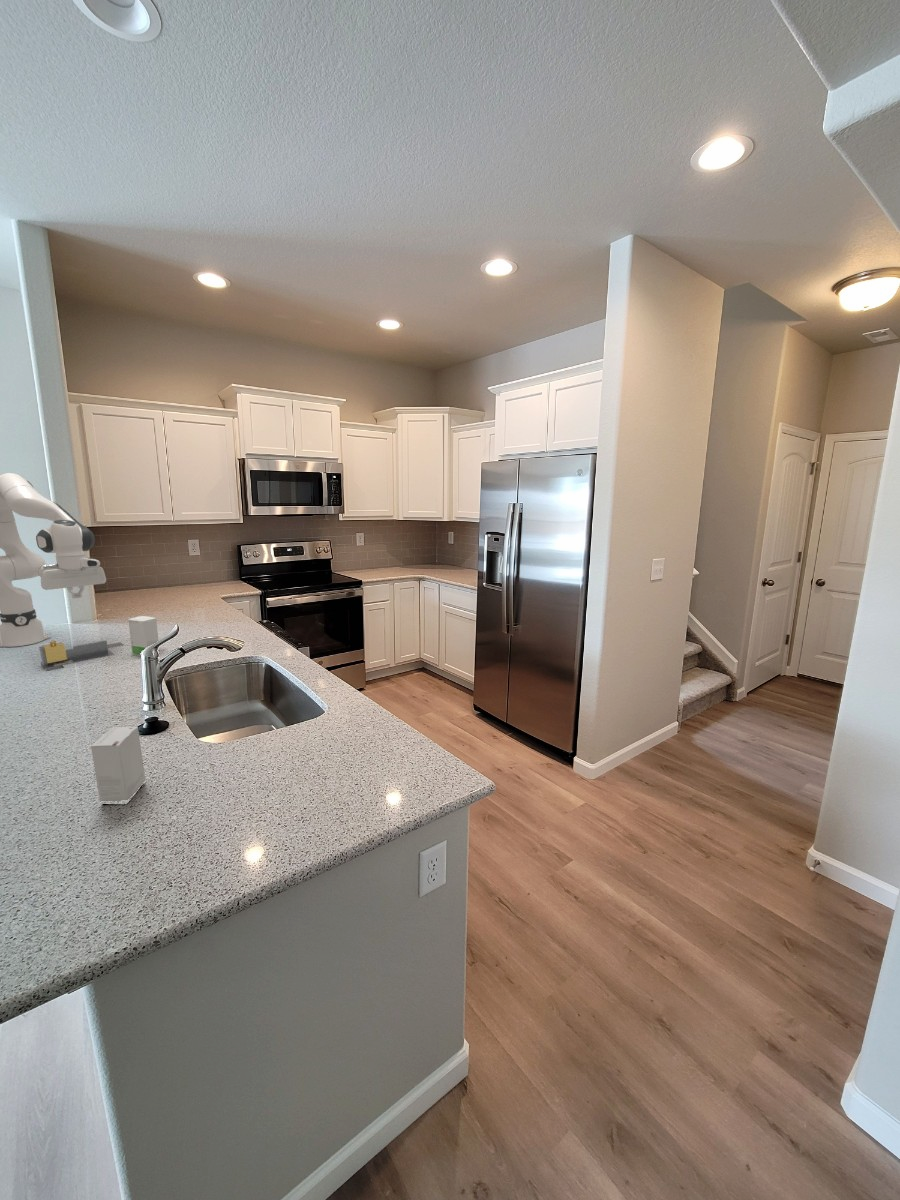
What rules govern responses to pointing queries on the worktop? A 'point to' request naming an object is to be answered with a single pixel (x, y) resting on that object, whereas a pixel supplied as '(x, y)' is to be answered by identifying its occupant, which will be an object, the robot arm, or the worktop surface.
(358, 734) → the worktop surface
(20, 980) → the worktop surface
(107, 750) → the skincare box
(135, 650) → the skincare box
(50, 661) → the gold knobbed block
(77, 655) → the rail
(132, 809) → the worktop surface
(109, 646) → the thin grey square plate
